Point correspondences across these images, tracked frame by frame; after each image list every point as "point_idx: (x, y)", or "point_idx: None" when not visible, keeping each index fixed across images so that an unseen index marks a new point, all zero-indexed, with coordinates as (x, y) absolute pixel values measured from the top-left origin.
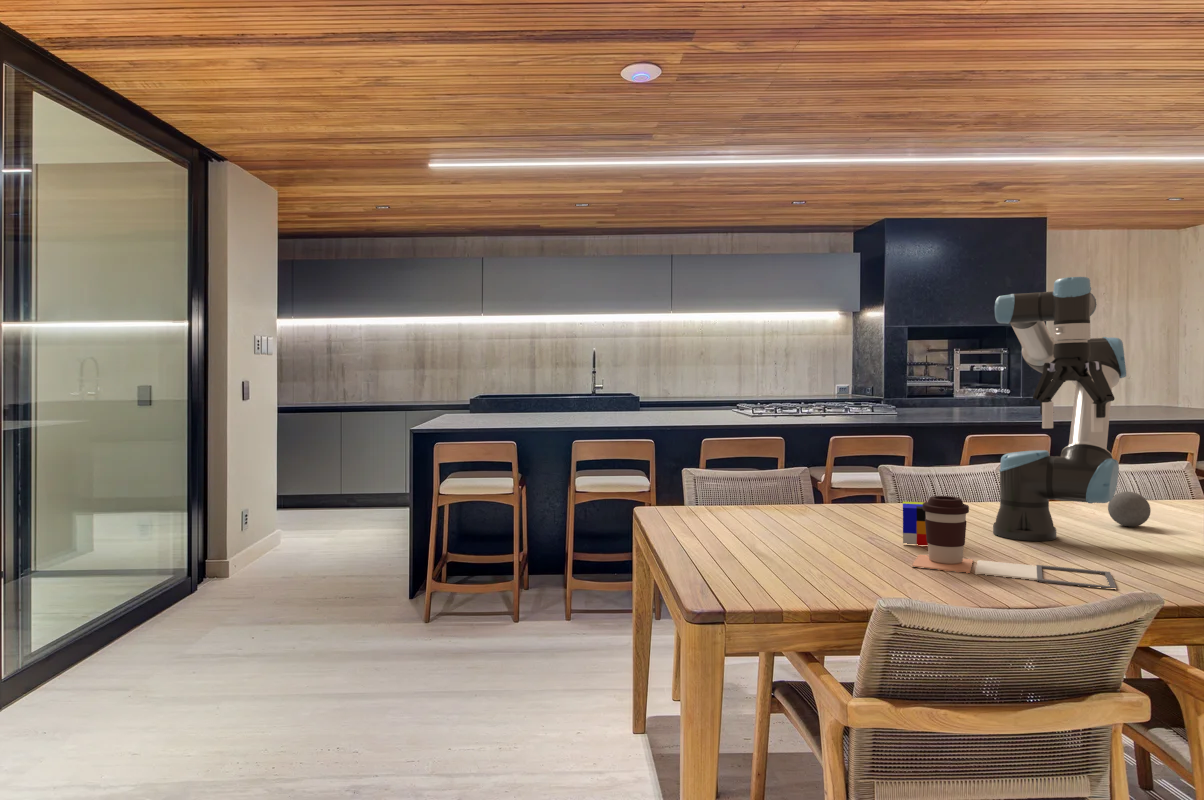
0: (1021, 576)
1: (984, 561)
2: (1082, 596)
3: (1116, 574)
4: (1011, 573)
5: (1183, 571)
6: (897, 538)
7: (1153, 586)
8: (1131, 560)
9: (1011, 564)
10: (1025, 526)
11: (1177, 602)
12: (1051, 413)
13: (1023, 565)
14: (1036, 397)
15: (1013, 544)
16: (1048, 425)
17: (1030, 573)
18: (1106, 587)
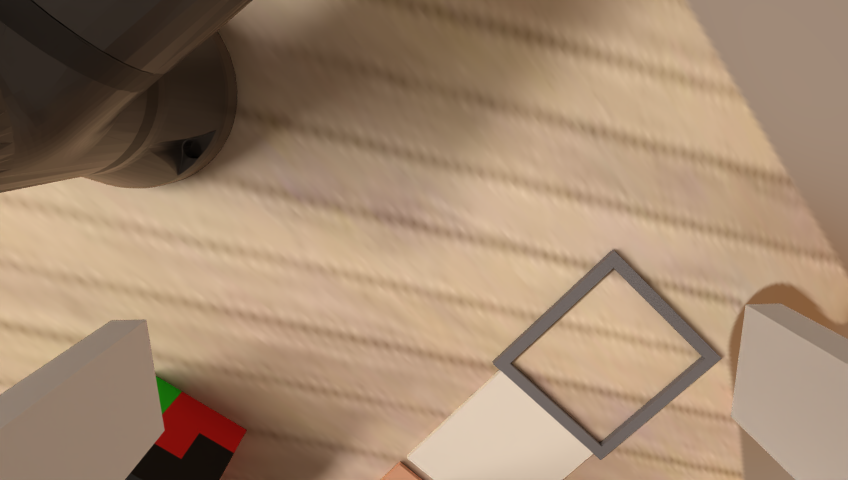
0: (566, 471)
1: (425, 454)
2: (715, 453)
3: (620, 235)
4: (538, 473)
5: (670, 29)
6: None
7: (731, 248)
8: (524, 54)
9: (471, 417)
10: (182, 140)
11: (833, 314)
12: (19, 452)
13: (488, 397)
14: None
15: (251, 222)
16: (140, 400)
17: (554, 436)
18: (705, 371)
